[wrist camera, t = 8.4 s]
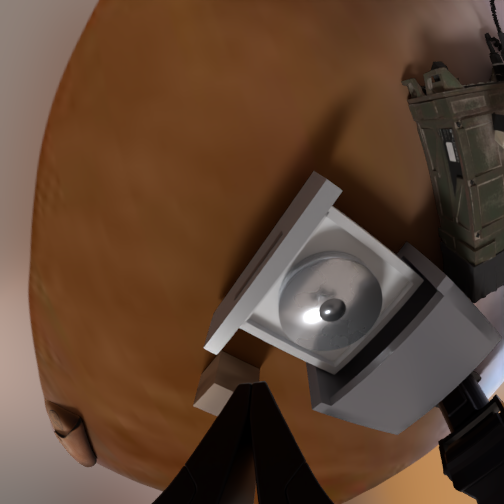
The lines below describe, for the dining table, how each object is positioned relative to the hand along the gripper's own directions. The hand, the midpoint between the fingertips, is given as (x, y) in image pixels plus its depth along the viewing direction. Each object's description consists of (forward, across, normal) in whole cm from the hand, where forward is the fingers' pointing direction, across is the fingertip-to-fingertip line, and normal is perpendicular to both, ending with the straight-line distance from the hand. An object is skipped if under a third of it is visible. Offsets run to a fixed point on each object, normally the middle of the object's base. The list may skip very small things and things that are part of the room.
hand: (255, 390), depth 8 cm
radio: (+13, -20, -8) cm, 25 cm away
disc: (+11, -4, +4) cm, 12 cm away
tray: (+12, -4, +4) cm, 13 cm away
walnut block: (+13, +5, +12) cm, 18 cm away
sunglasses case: (+14, +38, +29) cm, 50 cm away
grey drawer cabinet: (+12, -11, +10) cm, 19 cm away
